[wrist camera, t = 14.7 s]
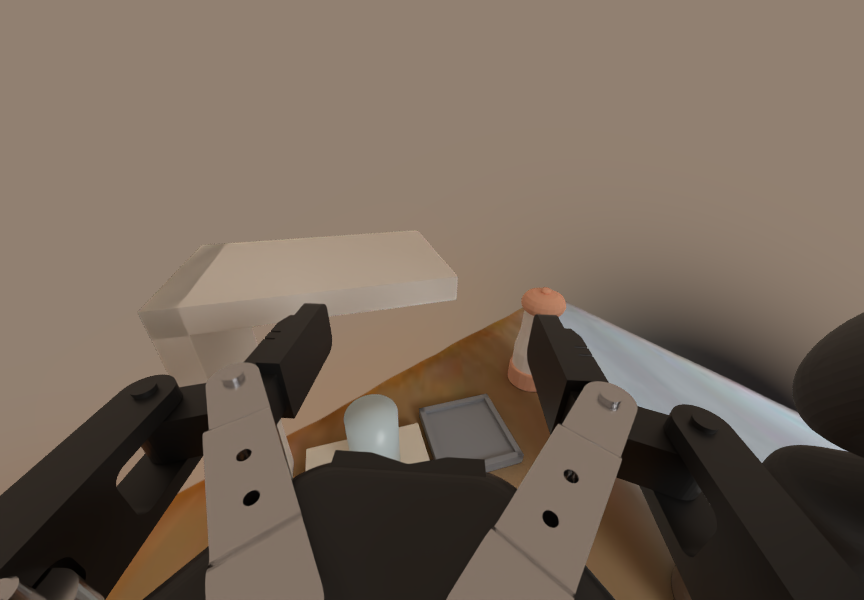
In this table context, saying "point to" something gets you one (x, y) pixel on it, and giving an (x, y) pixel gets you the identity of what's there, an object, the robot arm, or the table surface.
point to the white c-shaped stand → (288, 302)
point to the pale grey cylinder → (373, 426)
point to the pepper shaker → (532, 304)
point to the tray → (470, 432)
